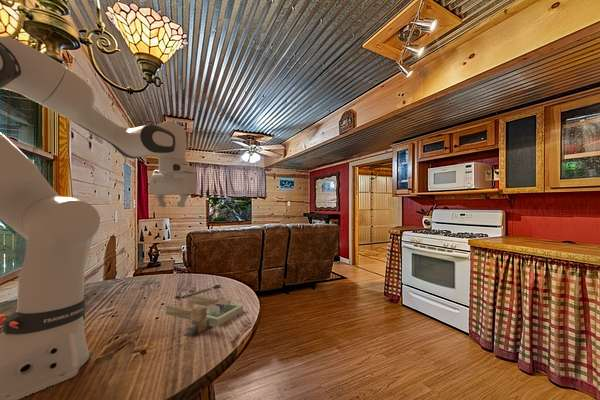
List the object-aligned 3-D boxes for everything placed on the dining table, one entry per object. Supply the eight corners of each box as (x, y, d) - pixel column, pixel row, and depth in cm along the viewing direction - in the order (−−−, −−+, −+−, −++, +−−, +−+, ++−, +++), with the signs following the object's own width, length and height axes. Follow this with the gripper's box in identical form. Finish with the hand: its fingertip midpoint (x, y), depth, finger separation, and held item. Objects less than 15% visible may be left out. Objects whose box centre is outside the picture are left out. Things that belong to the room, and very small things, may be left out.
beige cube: (224, 316, 88) (224, 304, 88) (213, 315, 89) (214, 303, 89) (230, 311, 91) (230, 300, 92) (220, 310, 92) (220, 299, 93)
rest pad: (193, 339, 72) (193, 337, 72) (182, 336, 73) (182, 334, 73) (213, 327, 79) (213, 326, 79) (203, 324, 81) (203, 323, 81)
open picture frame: (217, 327, 79) (218, 319, 79) (190, 320, 84) (191, 313, 84) (242, 312, 91) (243, 305, 91) (218, 307, 95) (218, 300, 95)
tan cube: (209, 323, 82) (209, 310, 82) (201, 320, 84) (201, 307, 85) (219, 319, 85) (219, 306, 86) (211, 316, 88) (212, 304, 88)
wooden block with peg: (193, 336, 73) (193, 312, 73) (186, 334, 74) (186, 311, 74) (211, 326, 79) (211, 304, 79) (204, 324, 80) (204, 303, 80)
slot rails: (191, 320, 84) (191, 311, 84) (165, 314, 89) (165, 305, 89) (217, 307, 95) (217, 299, 95) (193, 302, 100) (193, 294, 100)
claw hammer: (182, 304, 101) (182, 301, 101) (174, 299, 105) (174, 296, 105) (226, 290, 118) (227, 287, 118) (218, 286, 122) (218, 284, 122)
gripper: (144, 169, 93) (143, 207, 93) (186, 165, 85) (185, 207, 84) (160, 171, 99) (159, 207, 98) (200, 168, 91) (199, 207, 90)
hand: (171, 207), depth 91 cm, fingers open, 8 cm apart
